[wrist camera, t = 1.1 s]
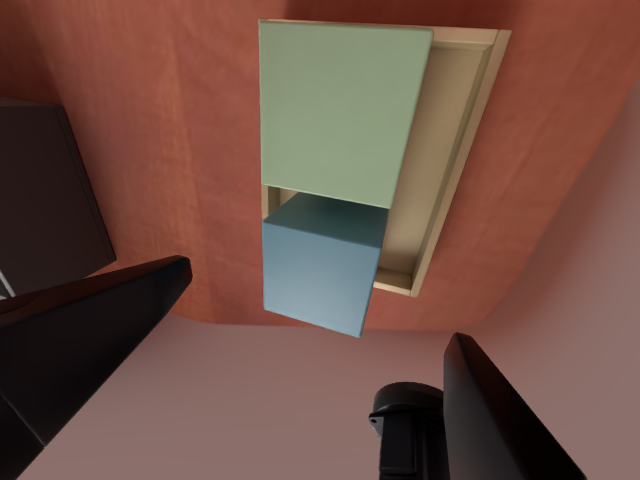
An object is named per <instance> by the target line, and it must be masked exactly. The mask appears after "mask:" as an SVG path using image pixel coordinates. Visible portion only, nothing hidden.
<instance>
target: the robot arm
mask: <svg viewBox="0 0 640 480" xmlns="http://www.w3.org/2000/svg"><path fill="white" fill-rule="evenodd" d="M192 277H193V275H192V269H191V264H190V260H189V258H187V257H184V256H181V255H174V256H171V257H167V258H163V259H159V260H155V261H151V262H147V263H143V264H139V265H135V266H132V267H128V268H124V269H120V270H116V271H112V272H108V273H104V274H100V275H96V276H92V277H89V278H85V279H81V280H77V281H73V282H69V283H65V284H61V285H57V286H53V287H50V288H48V289H42V290H38V291H34V292H30V293H26V294H22V295H18V296H14V297H10V298H5V299H1V300H0V480H16V479H17V478H18V477H19V476H20V475H21V474H22V473H23V472H24V470H26V468H27V467H28V466H29V465H30V464H31V463H32V462H33V461H34V460H35V458H36V457H37V456H38V455H39V454H40V453H41V452H42V451H43V450H44V447H46V446H47V445H48V444H49V443H50V442H51V441H52V439H54V437H55V436H56V435H57V434H58V433H59V432H60V431H61V430H62V429H63V427H64V426H65V425H66V424H67V423H68V422H69V421H70V420H71V419H72V418H73V417H74V416H75V414H76V413H77V412H78V411H79V410H80V409H81V408H82V407H83V406H84V405H85V403H86V402H87V401H88V400H89V399H90V398H91V397H92V396H93V395H94V394H95V392H96V391H97V390H98V389H99V388H100V387H101V386H102V385H103V384H104V383H105V382H106V380H107V379H108V378H109V377H110V376H111V375H112V374H113V373H114V372H115V371H116V369H117V368H118V367H119V366H120V365H121V364H122V363H123V362H124V360H126V359H127V357H128V356H129V355H130V354H131V353H132V352H133V351H134V350H135V349H136V348H137V346H138V345H139V344H140V343H141V342H142V341H143V340H144V339H145V338H146V337H147V336H148V334H149V333H150V332H151V331H152V330H153V329H154V328H155V327H156V326H157V325H158V323H159V322H160V321H161V320H162V319H163V318H164V317H165V316H166V314H167V313H168V312H169V310H170V309H171V308H172V306H173V305H174V304H175V303H176V301H177V300H178V299H179V297H180V296H181V295H182V293H183V292H184V291H185V289H186V288H187V287H188V285H189V284H190V283H191V281H192ZM368 420H369V422H370V423H371V425H372V426H373V427H374V428H375V430H376V431H377V432H378V433H379V435H380V436H381V448H380V459H379V480H587V477H586V476H585V474H584V473H583V472H582V471H581V469H580V468H579V467H578V466H577V465H576V463H575V462H574V461H573V460H572V459H571V457H570V456H569V455H568V454H567V452H566V451H565V450H564V449H563V448H562V447H561V445H560V444H559V443H558V442H557V440H556V439H555V438H554V437H553V435H552V434H551V433H550V432H549V430H548V429H547V428H546V427H545V426H544V424H543V423H542V422H541V421H540V419H539V418H538V417H537V416H536V415H535V413H534V412H533V411H532V410H531V409H530V407H529V406H528V405H527V404H526V402H525V401H524V400H523V399H522V397H521V396H520V395H519V394H518V393H517V391H516V390H515V389H514V388H513V387H512V385H511V384H510V383H509V382H508V380H507V379H506V378H505V377H504V376H503V374H502V373H501V372H500V371H499V369H498V368H497V367H496V366H495V365H494V363H493V362H492V361H491V360H490V358H489V357H488V356H487V355H486V354H485V352H484V351H483V350H482V349H481V347H480V346H479V345H478V344H477V343H476V341H475V340H474V339H473V338H472V337H471V336H469V335H466V334H462V333H459V332H456V333H454V334H453V336H452V338H451V340H450V342H449V344H448V346H447V348H446V350H445V354H444V414H443V412H442V411H441V410H440V409H439V408H437V407H426V408H416V409H406V410H396V411H387V412H377V413H370V414H369V419H368Z"/></svg>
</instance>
